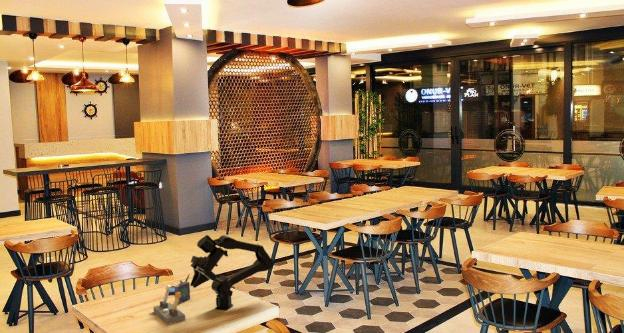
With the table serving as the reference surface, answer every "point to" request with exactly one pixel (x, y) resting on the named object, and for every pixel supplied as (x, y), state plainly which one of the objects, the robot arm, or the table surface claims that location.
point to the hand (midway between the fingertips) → (192, 286)
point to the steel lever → (166, 293)
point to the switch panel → (168, 313)
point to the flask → (183, 291)
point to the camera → (172, 291)
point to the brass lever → (176, 301)
